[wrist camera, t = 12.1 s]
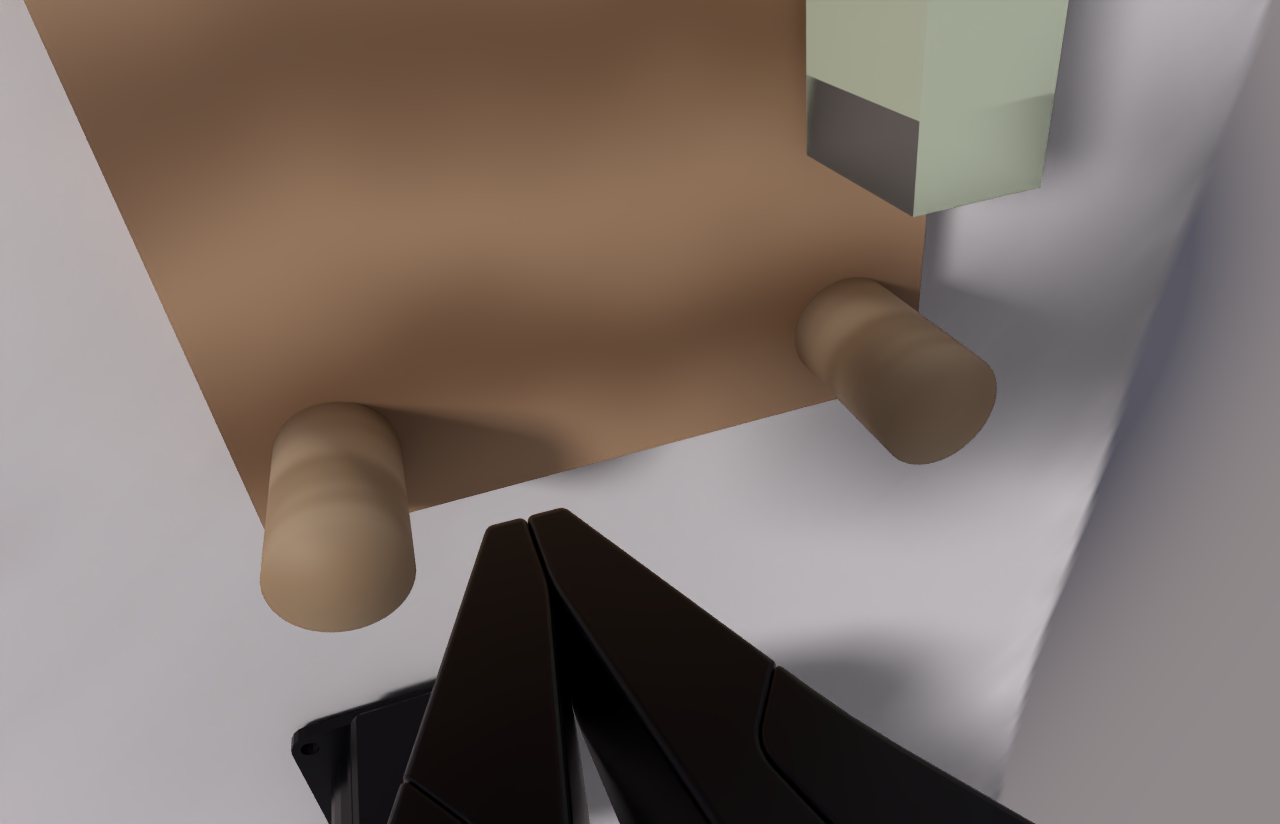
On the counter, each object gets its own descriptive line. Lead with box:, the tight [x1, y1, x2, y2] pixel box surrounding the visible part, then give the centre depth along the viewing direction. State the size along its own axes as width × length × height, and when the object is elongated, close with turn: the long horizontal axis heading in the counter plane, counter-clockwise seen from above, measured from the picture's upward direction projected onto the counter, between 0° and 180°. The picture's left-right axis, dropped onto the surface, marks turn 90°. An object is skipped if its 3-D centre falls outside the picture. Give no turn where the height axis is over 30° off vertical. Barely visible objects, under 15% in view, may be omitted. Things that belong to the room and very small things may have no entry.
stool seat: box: [24, 0, 997, 632], centre depth 15 cm, size 18×16×6 cm
